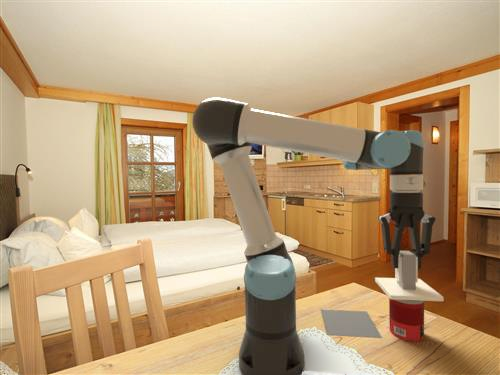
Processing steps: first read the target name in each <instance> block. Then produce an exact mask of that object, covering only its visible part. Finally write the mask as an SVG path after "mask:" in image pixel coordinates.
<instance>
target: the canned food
mask: <svg viewBox="0 0 500 375" xmlns="http://www.w3.org/2000/svg"><path fill="white" fill-rule="evenodd" d="M388 298H389V297H388ZM388 304H389V309H388V311H389V317H388V318H389V319H388V320H389V321H388V322H389V332H390V333H391V335H393V336H395V337H396V338H398V339H401V340H403V341H407V342H416V343H417V342H421V341H423V340H424V339H425V301H420V300H394V299H390V298H389V302H388Z"/></svg>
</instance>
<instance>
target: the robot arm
mask: <svg viewBox="0 0 500 375" xmlns="http://www.w3.org/2000/svg"><path fill="white" fill-rule="evenodd" d="M191 121H192V122H191V123H192V128H193V131H194V133H195V135H196V137H197V138H198V139H199V140H200V141H201V142H203V143H205V144H206V146H207V148H208V151H209V154H210V157H211V159H212V162H213V163H216V164H217V165H219V167H220V170H221V173H222V175H223V178H224V182H225V185H226V187H227V190H228V193H229V196H230V199H231V201H232V204H233V207H234V211H235V213H236V216H237V219H238V223H239V225H240V228H241V231H242V234H243V237H244V239H245V243H246V247H245V250H244V251H243V253H244V257H245V259H246V262H247V263H246V265H245V268H244V274H243V283H244V301H245V302H244V305H245V308H244V310H245V331H244V334H243V336H242V341H241V343H240V344H241V345H240V347H239V351H238V365H239V369H240V370H241V373H242V374H243V375H302V374H303V372H304V367H305V353H304V349H303V346H302V342H301V339H300V337H299V335H298V331H297V309H296V308H297V307H296V306H297V304H296V303H297V302H296V300H297V299H296V297H297V296H296V283H297V274H296V269H295V265H294V262H293V260H292V257H291V256H290V254H289V253H288V249H287V247H286V243H285V242H284V239H283V238H282V237H280V236H277V234H276V232H275V228H274V225H273V223H272V219H271V217H270V214H269V211H268V209H267V208H268V207H267V205H266V201H265V199H264V196H263V194H262V191H261V187H260V185H259V182H258V178H257V176H256V173H255V170H254V167H253V164H252V161H251V158H250V152H251V150H252V145H251V144H254V145H260V146H265V147H270V148H275V149H280V150H286V151H290V152H295V153H296V152H298V153H302V154H308V155H313V156H318V157H321V158H322V157H323V158H328V159H333V160H338V161H342V166H343V168H344V169H345V170H346V171H347V170H349V171H358V170H359V171H363V170H364V171H366V170H368V171H369V170H389V190H390V191H391V192H390V193H389V209H388V213H386V214H384V215H378V217H377V218H378V221H379V223H380V225H381V234H382V245H383V251H384V252H386V254H388V255H390V256H391V266H392V268H393V269H394V272H395V273H394V276H395V277H394V278H396V279H397V280H398V281H399V282H402V257H401V256H400V255H399V252H400V251H401V245H402V239H403V233H404V231H405V228H408V230H409V236H410V242H411V243H410V244H411V248H412V253H413V254H415V255H416V282H418V279H419V277H418V276H419V272H418V271H419V270H420V269H422V259H423V258H424V256H425V255H430V253H431V243H432V233H433V226H434V224H435V221H436V220H437V219H436V217H435V216H432V215H429V214H426V213H425V211H424V208H423V207H424V193H423V192H422V190H424V150H425V148H424V138H423V134H422V132H421V131H419V130H401V131H399V130H395V129H394V130H393V129H390V130H383V131H376V130H372V129H371V130H370V129H365V128H359V127H354V126H347V125H344V124H337V123H332V122H326V121H321V120H316V119H315V120H314V119H310V118H305V117H304V118H303V117H298V116H294V115H288V114H281V113H275V112H271V111H267V110H265V111H264V110H259V109H256V108H255V109H254V108H252V107H251V106H250V104H249V102H248V103H247V102H242V101H241V102H240V101H237V100H232V99H227V98H222V97H210V98H207V99H205V100H203V101H201V102H200V103H199V104H198V106H196V107H195V110H194V111H193V115H192V120H191ZM391 220H392V222H393V223H394V225H393V235H392V236H393V237H392V239H391V230H390V222H391ZM421 221H422V225H421V226H422V228H421V238H420V233H419V230H420V228H419V227H420V226H419V223H420V222H421ZM391 240H392V242H391ZM418 269H419V270H418Z"/></svg>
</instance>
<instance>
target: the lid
mask: <svg viewBox="0 0 500 375" xmlns="http://www.w3.org/2000/svg"><path fill="white" fill-rule="evenodd" d="M399 255H400V256H401V257H402V282H399V281H398V280H397V279H396V278H395V277H374V281H375V283H376V284H377V285H378V287H379V288H380V289H381V290H382V291H383V293H385V295H386V296H387V297H388V298H390V299H394V300H420V301H424V302H426V301H427V302H444V301H445V300H444V296H443V295H442V294H440V293H439V292H437V291H436V290H435V289H434V288H432V287H431V285H428V284H427V283H426V282H424V281H423V280H422V279H421V278H418V282H416V255H415V254H413V251H412V252H411V251H410V250H400V252H399Z"/></svg>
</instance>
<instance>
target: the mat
mask: <svg viewBox="0 0 500 375" xmlns="http://www.w3.org/2000/svg"><path fill="white" fill-rule="evenodd" d="M319 311H320V313H321V314H320V315H321V318H322V322H323V325H324V329H325V334H326V336H338V337H354V338H357V337H358V338H359V337H360V338H374V339H376V338H377V339H383V336H382V335H381V333H380V332H379V330H378V328H377V326H376V324H375V323H374V322H373V321H374V320H372V318H371V315H370V314H369V312H368V311H363V310H342V309H341V310H338V309H319Z"/></svg>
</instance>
